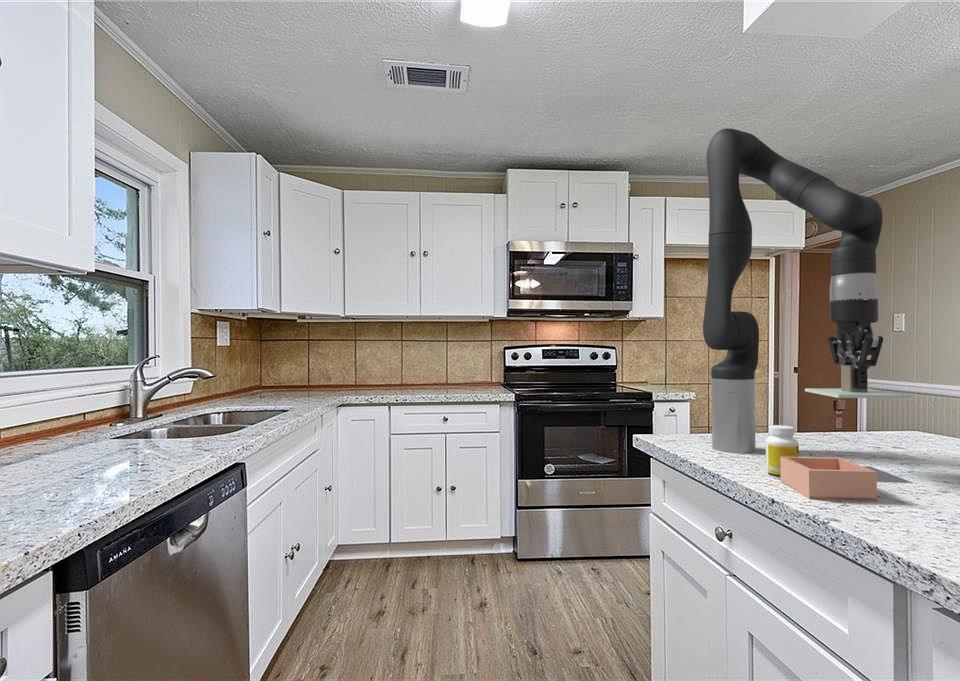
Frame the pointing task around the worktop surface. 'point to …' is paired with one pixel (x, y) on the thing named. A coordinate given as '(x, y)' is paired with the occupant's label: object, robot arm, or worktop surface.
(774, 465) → the supplement bottle
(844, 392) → the lid
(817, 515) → the worktop surface
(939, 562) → the worktop surface
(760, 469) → the worktop surface
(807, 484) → the dish
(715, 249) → the robot arm
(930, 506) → the worktop surface
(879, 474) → the mat
